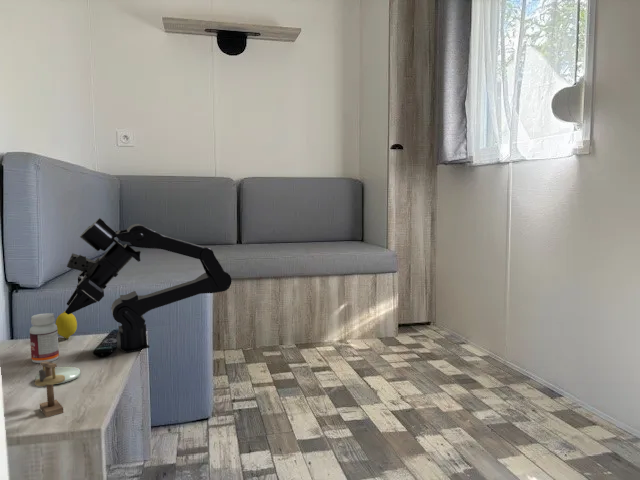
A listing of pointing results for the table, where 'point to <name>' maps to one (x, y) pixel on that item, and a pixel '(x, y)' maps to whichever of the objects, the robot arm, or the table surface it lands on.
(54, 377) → the balance
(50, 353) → the pill bottle
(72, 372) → the dish
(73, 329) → the lemon
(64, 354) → the table surface
